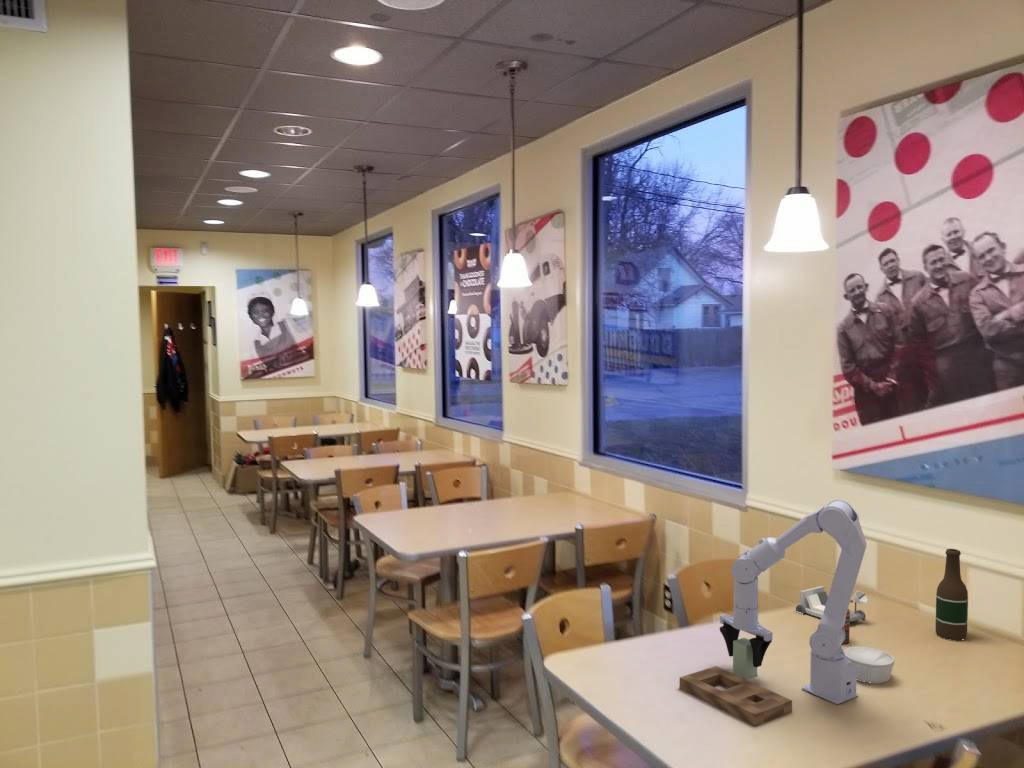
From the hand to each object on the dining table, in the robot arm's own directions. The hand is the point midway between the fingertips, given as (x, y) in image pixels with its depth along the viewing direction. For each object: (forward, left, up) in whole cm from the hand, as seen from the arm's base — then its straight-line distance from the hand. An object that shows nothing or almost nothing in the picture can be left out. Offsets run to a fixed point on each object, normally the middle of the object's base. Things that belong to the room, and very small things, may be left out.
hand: (744, 660), depth 190 cm
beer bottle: (-14, -67, -4) cm, 69 cm away
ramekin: (-17, -24, -4) cm, 30 cm away
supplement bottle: (+1, -38, -4) cm, 38 cm away
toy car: (+13, -53, -4) cm, 55 cm away
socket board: (-8, +13, -3) cm, 16 cm away
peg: (0, 0, -3) cm, 3 cm away
